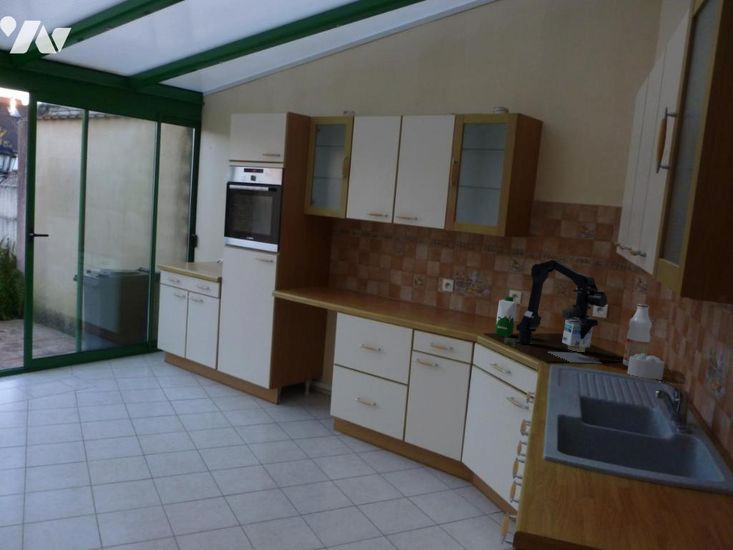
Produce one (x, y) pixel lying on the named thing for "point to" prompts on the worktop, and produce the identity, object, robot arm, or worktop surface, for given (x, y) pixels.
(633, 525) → the worktop surface
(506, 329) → the milk carton
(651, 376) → the lumpy-topped squat cylinder
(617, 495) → the worktop surface
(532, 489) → the worktop surface
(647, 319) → the fruit juice
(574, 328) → the light bulb box
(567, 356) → the mat
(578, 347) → the coffee cup
